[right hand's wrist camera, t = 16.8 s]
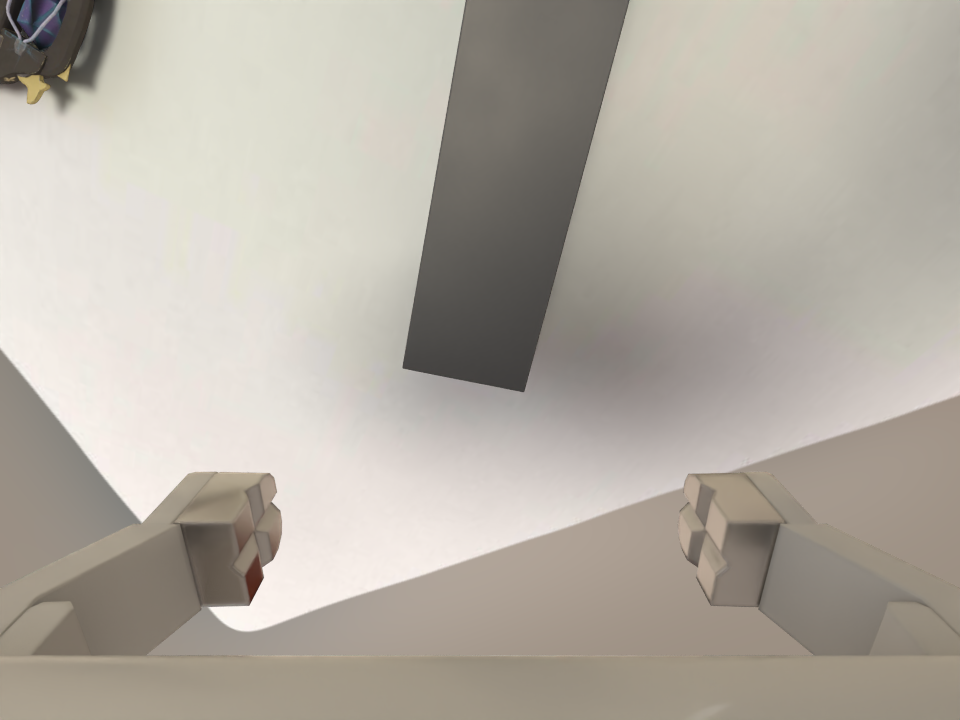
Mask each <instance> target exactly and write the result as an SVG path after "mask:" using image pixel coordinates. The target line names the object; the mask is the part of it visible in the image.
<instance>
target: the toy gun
mask: <svg viewBox="0 0 960 720" xmlns="http://www.w3.org/2000/svg"><path fill="white" fill-rule="evenodd" d="M94 1H95V0H0V83H5V84H11V83H15V82H17V81H21V82H22V83H23V84H25V85H26V86H27V88H28V94H27V103H28V104H35V103H37V102H38V101H39V99H40V98H41V96H42V94H43V93H44V91H47V90H48V89H50V87H51V86H50V85H49V84H46V83H44V79H43V78H50V77H60V78H62V79H63V80H65V81H66V82H67V81H68V76H69V71H70V69H71V67H72V66H73V64H74V62H75V59H76V57H77V54H78V52H79V49H80V46H81V44H82V41H83V39H84V36H85V33H86V31H87V28H88V25H89V22H90V19H91V15H92V11H93V6H94ZM21 28H23V29H24V31H25V32H26V33H27V35H28V36H29V37H30V38H29V39H26V38H24V37H23V36H21V34H20V32H21ZM32 41H33V43H34V44H33V43H32ZM45 50H46V51H45Z"/></svg>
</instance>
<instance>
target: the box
mask: <svg viewBox="0 0 960 720" xmlns="http://www.w3.org/2000/svg"><path fill="white" fill-rule="evenodd" d="M628 4H629V0H466V3H465V9H464V15H463V20H462V26H461V32H460V38H459V44H458V49H457V55H456V61H455V67H454V72H453V78H452V84H451V90H450V96H449V101H448V107H447V113H446V119H445V125H444V130H443V136H442V142H441V148H440V153H439V159H438V165H437V171H436V177H435V182H434V188H433V194H432V200H431V206H430V211H429V217H428V223H427V229H426V234H425V240H424V246H423V252H422V258H421V263H420V269H419V275H418V281H417V286H416V292H415V298H414V304H413V310H412V315H411V321H410V327H409V333H408V339H407V344H406V350H405V356H404V362H403V369H408V370H413V371H419V372H424V373H429V374H434V375H439V376H444V377H449V378H454V379H459V380H464V381H469V382H475V383H480V384H485V385H490V386H495V387H500V388H505V389H510V390H515V391H520V392H524V390H525V387H526V383H527V379H528V376H529V372H530V368H531V364H532V361H533V357H534V353H535V349H536V346H537V342H538V338H539V335H540V331H541V327H542V323H543V320H544V316H545V312H546V309H547V305H548V301H549V297H550V294H551V290H552V286H553V283H554V279H555V275H556V271H557V268H558V264H559V260H560V257H561V253H562V249H563V245H564V242H565V238H566V234H567V231H568V227H569V223H570V219H571V216H572V212H573V208H574V205H575V201H576V197H577V193H578V190H579V186H580V182H581V179H582V175H583V171H584V167H585V164H586V160H587V156H588V153H589V149H590V145H591V141H592V138H593V134H594V130H595V127H596V123H597V119H598V115H599V112H600V108H601V104H602V101H603V97H604V93H605V89H606V86H607V82H608V78H609V75H610V71H611V67H612V63H613V60H614V56H615V52H616V49H617V45H618V41H619V37H620V34H621V30H622V26H623V23H624V19H625V15H626V11H627V8H628Z"/></svg>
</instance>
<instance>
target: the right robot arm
mask: <svg viewBox="0 0 960 720" xmlns="http://www.w3.org/2000/svg"><path fill="white" fill-rule="evenodd" d="M276 493H277V489H276V484H275V480H274V477H273V476H272V475H271V474H270V473H241V472H219V473H218V472H193V473H190V474H188V475H187V476H186V477H185V478H184V479H183V480H182V481H181V482H180V483H179V484H178V485H177V486H176V488H175V489H174V490H173V491H172V492H171V493H170V494H169V495H168V496H167V497H166V498H165V499H164V500H163V502H162V503H161V504H160V505H159V506H158V507H157V508H156V509H155V510H154V511H153V512H152V513H151V514H150V515H149V517H148V518H147V519H146V520H145V521H144V522H143V523H142V524H132V525H130V526H128V527H126V528H124V529H121V530H119V531H117V532H115V533H113V534H111V535H109V536H107V537H105V538H103V539H101V540H99V541H96V542H94V543H92V544H90V545H88V546H86V547H84V548H82V549H80V550H78V551H76V552H74V553H71V554H69V555H67V556H65V557H63V558H61V559H59V560H57V561H55V562H53V563H51V564H49V565H47V566H44V567H42V568H40V569H38V570H36V571H34V572H32V573H30V574H28V575H26V576H24V577H22V578H19V579H17V580H15V581H13V582H11V583H9V584H7V585H5V586H3V587H1V588H0V720H960V588H959V587H957V586H955V585H953V584H951V583H949V582H946V581H944V580H942V579H940V578H938V577H936V576H934V575H932V574H930V573H928V572H926V571H924V570H922V569H919V568H917V567H915V566H913V565H911V564H909V563H907V562H905V561H903V560H901V559H899V558H897V557H895V556H892V555H890V554H888V553H886V552H884V551H882V550H880V549H878V548H876V547H874V546H872V545H870V544H868V543H865V542H863V541H861V540H859V539H857V538H855V537H853V536H851V535H849V534H847V533H845V532H843V531H841V530H838V529H836V528H834V527H832V526H830V525H828V524H818V523H817V522H816V521H815V520H814V519H813V518H812V517H811V516H810V514H809V513H808V512H807V511H806V510H805V509H804V508H803V507H802V506H801V505H800V504H799V503H798V501H797V500H796V499H795V498H794V497H793V496H792V495H791V494H790V493H789V492H788V491H787V490H786V489H785V487H784V486H783V485H782V484H781V483H780V482H779V481H778V480H777V479H776V478H775V477H774V476H773V475H772V474H770V473H768V472H741V473H707V474H688V476H687V478H686V480H685V483H684V489H683V493H684V494H685V496H686V498H687V500H688V501H689V502H688V503H687V504H686V505H685V506H684V507H683V508H682V509H681V510H680V513H679V520H678V532H679V541H680V544H681V548H682V551H683V553H684V555H685V557H686V559H687V560H688V561H689V562H691V563H692V564H694V565H695V566H697V567H698V570H697V576H696V578H697V580H698V582H699V584H700V586H701V588H702V590H703V592H704V594H705V596H706V597H707V599H708V601H709V603H710V605H711V606H739V607H759V610H760V611H761V612H762V613H763V614H765V615H766V616H767V617H768V618H770V619H771V620H772V621H773V622H774V623H776V624H777V625H778V626H779V627H781V628H782V629H783V630H784V631H785V632H787V633H788V634H789V635H790V636H792V637H793V638H794V639H795V640H796V641H798V642H799V643H800V644H801V645H802V646H804V647H805V648H806V649H807V650H809V651H810V652H811V653H812V654H813V655H731V656H730V655H729V656H728V655H718V656H717V655H715V656H714V655H710V656H709V655H708V656H707V655H703V656H702V655H693V656H692V655H691V656H690V655H689V656H687V655H683V656H682V655H677V656H676V655H674V656H673V655H670V656H667V655H665V656H664V655H660V656H659V655H657V656H467V655H461V656H460V655H230V656H229V655H221V656H220V655H215V656H214V655H203V656H201V655H200V656H199V655H198V656H197V655H196V656H195V655H194V656H190V655H187V656H182V655H180V656H163V655H161V656H159V655H147V654H148V653H149V652H150V651H152V650H153V649H154V648H155V647H157V646H158V645H159V644H160V643H161V642H163V641H164V640H165V639H166V638H167V637H169V636H170V635H171V634H172V633H174V632H175V631H176V630H177V629H178V628H180V627H181V626H182V625H183V624H184V623H186V622H187V621H188V620H189V619H191V618H192V617H193V616H194V615H196V614H197V613H198V612H199V611H200V610H201V607H221V606H249V605H250V603H251V601H252V599H253V598H254V596H255V594H256V592H257V590H258V588H259V586H260V584H261V582H262V580H263V578H264V576H263V570H262V567H263V566H265V565H266V564H268V563H269V562H271V561H272V560H273V559H274V557H275V555H276V553H277V550H278V548H279V544H280V539H281V535H282V519H281V512H280V510H279V509H278V508H277V507H276V506H275V505H274V504H273V503H272V502H271V501H272V500H273V498H274V496H275V494H276Z"/></svg>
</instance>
